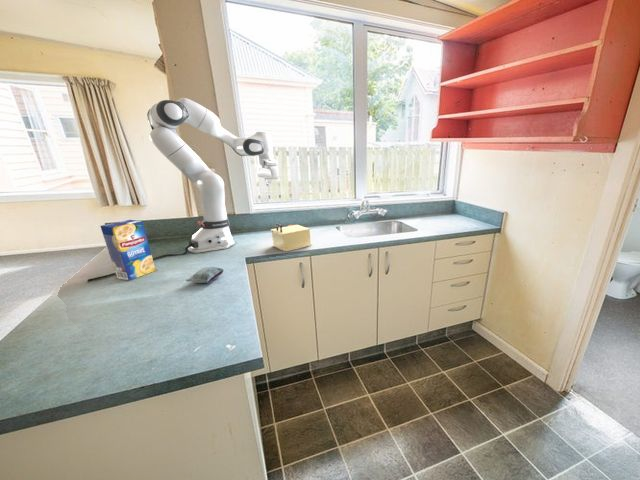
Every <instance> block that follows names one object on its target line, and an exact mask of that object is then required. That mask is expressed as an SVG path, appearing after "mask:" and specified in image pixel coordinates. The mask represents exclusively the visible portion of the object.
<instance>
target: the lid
mask: <svg viewBox="0 0 640 480" xmlns="http://www.w3.org/2000/svg"><path fill="white" fill-rule="evenodd" d="M291 225H292V226H288V225H287V226H283V225H282V224H280V223H277V222H276V223H275V224H274V226H275V228H271V229H270V232H271V233H272V232H274V233H277V234H279V235H281V236H283V235H288V234H293V233H298V232H303V231H308V230H310V229H311V228H309V227H306V226H303V225H300V224H291ZM310 231H311V230H310Z"/></svg>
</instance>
